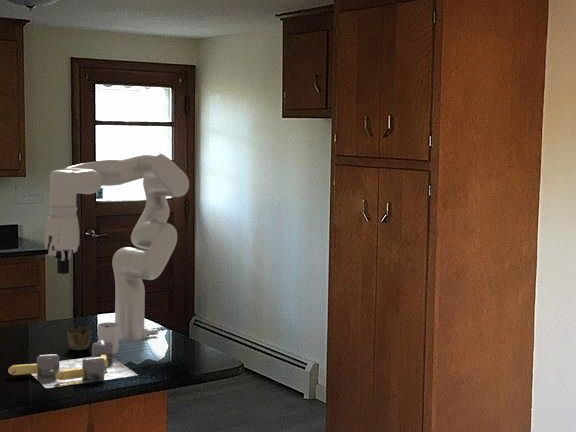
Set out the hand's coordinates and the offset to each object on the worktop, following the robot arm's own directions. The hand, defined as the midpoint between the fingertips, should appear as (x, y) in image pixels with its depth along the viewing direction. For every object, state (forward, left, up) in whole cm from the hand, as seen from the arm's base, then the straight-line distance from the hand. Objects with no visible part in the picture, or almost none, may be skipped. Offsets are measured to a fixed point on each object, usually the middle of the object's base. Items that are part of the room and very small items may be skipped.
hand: (63, 273), depth 244 cm
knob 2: (-8, +13, -25) cm, 30 cm away
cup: (-7, -6, -27) cm, 29 cm away
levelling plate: (0, +16, -27) cm, 31 cm away
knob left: (+3, +24, -25) cm, 35 cm away
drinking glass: (-14, +1, -27) cm, 31 cm away
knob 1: (+13, +15, -25) cm, 32 cm away
